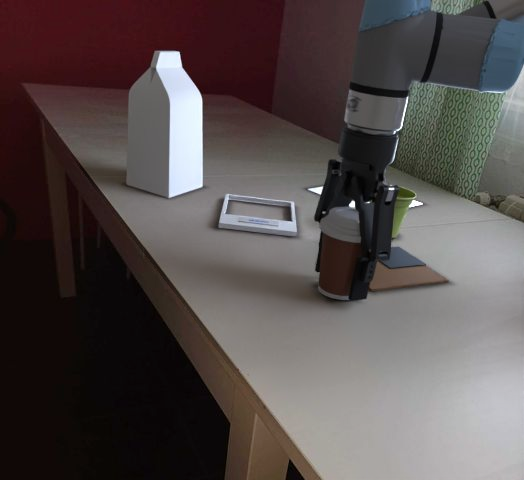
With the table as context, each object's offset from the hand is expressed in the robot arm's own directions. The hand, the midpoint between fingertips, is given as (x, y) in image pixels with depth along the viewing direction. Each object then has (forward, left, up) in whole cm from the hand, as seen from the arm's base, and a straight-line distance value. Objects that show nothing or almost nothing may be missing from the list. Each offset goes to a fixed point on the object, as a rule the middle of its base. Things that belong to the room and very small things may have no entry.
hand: (339, 284), depth 82 cm
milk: (+54, +11, -2) cm, 55 cm away
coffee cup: (0, 0, -1) cm, 1 cm away
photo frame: (+33, -2, -1) cm, 33 cm away
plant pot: (+21, -24, -2) cm, 32 cm away
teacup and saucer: (+43, -35, -2) cm, 55 cm away
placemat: (+6, -14, -1) cm, 15 cm away
